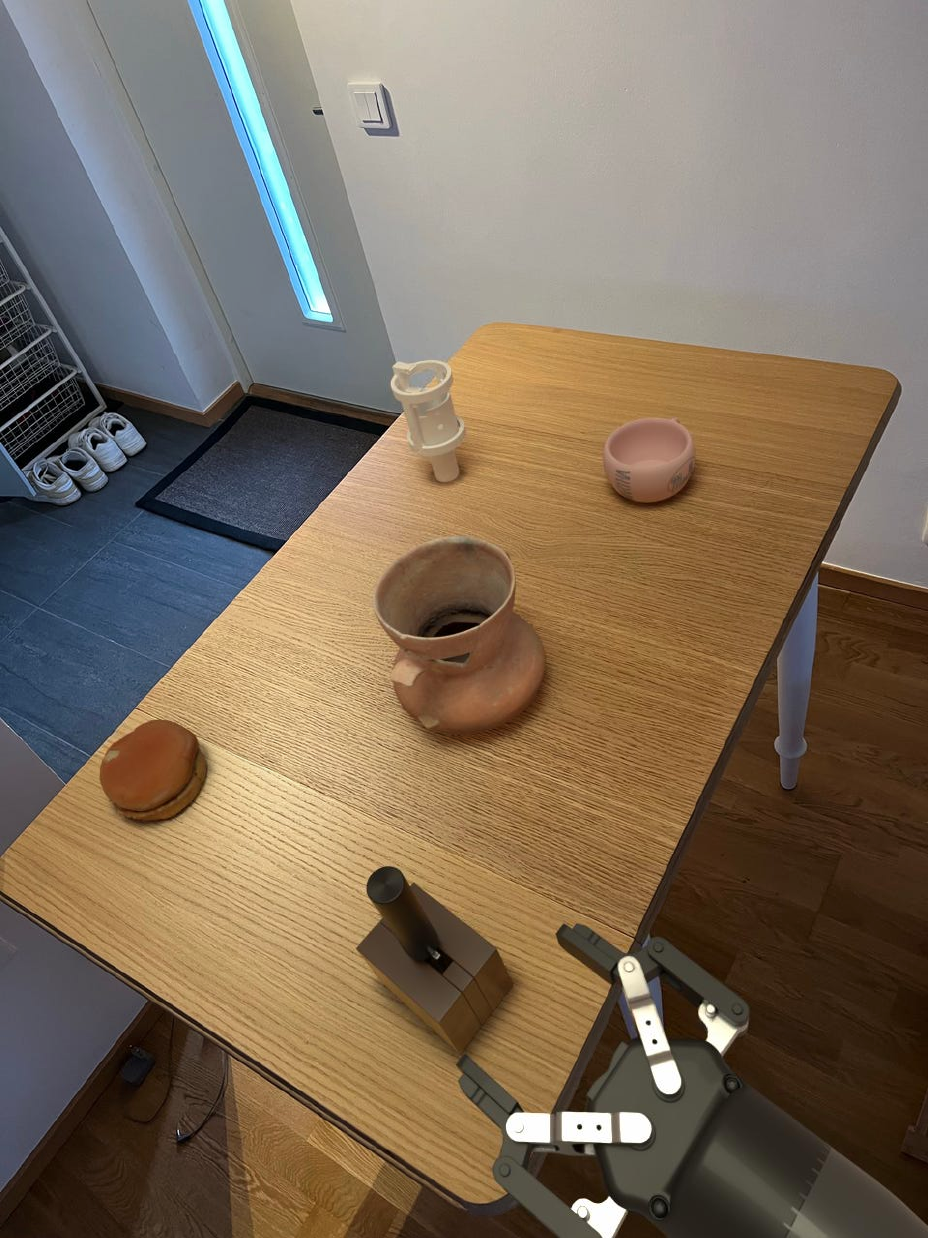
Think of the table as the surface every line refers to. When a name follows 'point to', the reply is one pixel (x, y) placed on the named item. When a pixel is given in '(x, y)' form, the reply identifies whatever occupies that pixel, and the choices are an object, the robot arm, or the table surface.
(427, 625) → the ceramic jug
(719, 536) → the table surface
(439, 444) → the strainer
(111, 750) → the burger
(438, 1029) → the knife block
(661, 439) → the mug
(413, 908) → the black tall cylinder
